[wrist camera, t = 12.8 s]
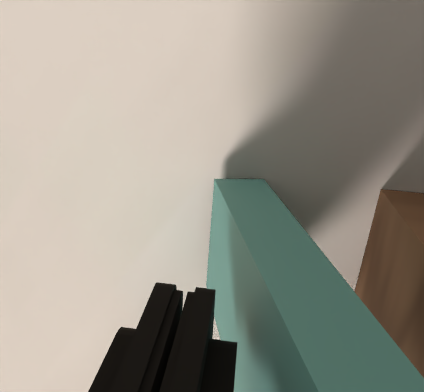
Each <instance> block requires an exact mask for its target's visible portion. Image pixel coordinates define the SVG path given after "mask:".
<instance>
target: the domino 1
mask: <svg viewBox="0 0 424 392" xmlns="http://www.w3.org/2000/svg"><path fill="white" fill-rule="evenodd" d="M206 286H207V289H215V290H216V293H215V308H214V316H215V320H216V324H217V328H218V331H219V335H220V339H221V340H223V341H231V342H237V356H236V369H235V381H234V392H424V378H423V376H422V375H421V374H420V373H419V372H418V370H417V369H416V368H415V367H414V365H413V364H412V363H411V362H410V360H409V359H408V358H407V357H406V355H405V354H404V353H403V352H402V350H401V349H400V348H399V347H398V345H397V344H396V343H395V342H394V340H393V339H392V338H391V337H390V335H389V334H388V333H387V332H386V330H385V329H384V328H383V327H382V325H381V324H380V323H379V322H378V321H377V319H376V318H375V317H374V316H373V314H372V313H371V312H370V311H369V309H368V308H367V307H366V306H365V304H364V303H363V302H362V301H361V299H360V298H359V297H358V296H357V294H356V293H355V292H354V291H353V289H352V288H351V287H350V286H349V284H348V283H347V282H346V281H345V279H344V278H343V277H342V276H341V274H340V273H339V272H338V271H337V270H336V268H335V267H334V266H333V265H332V263H331V262H330V261H329V260H328V258H327V257H326V256H325V255H324V253H323V252H322V251H321V250H320V248H319V247H318V246H317V245H316V243H315V242H314V241H313V240H312V238H311V237H310V236H309V235H308V233H307V232H306V231H305V230H304V228H303V227H302V226H301V225H300V224H299V222H298V221H297V220H296V219H295V217H294V216H293V215H292V214H291V212H290V211H289V210H288V209H287V207H286V206H285V205H284V204H283V202H282V201H281V200H280V199H279V197H278V196H277V195H276V194H275V192H274V191H273V190H272V189H271V187H270V186H269V185H268V184H267V182H266V181H265V180H264V179H214V191H213V205H212V218H211V231H210V244H209V257H208V270H207V283H206Z"/></svg>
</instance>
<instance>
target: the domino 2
mask: <svg viewBox="0 0 424 392" xmlns="http://www.w3.org/2000/svg"><path fill="white" fill-rule="evenodd" d="M355 293H356V294H357V296H358V297H359V298H360V299H361V301H362V302H363V303H364V304H365V306H366V307H367V308H368V309H369V311H370V312H371V313H372V314H373V316H374V317H375V318H376V319H377V321H378V322H379V323H380V324H381V325H382V327H383V328H384V329H385V330H386V332H387V333H388V334H389V335H390V337H391V338H392V339H393V340H394V342H395V343H396V344H397V345H398V347H399V348H400V349H401V350H402V352H403V353H404V354H405V355H406V357H407V358H408V359H409V360H410V362H411V363H412V364H413V365H414V367H415V368H416V369H417V370H418V372H419V373H420V374H421V375H422V376H423V378H424V193H414V192H404V191H394V190H384V189H381V191H380V195H379V199H378V203H377V206H376V210H375V214H374V218H373V222H372V226H371V230H370V234H369V238H368V241H367V245H366V249H365V253H364V257H363V261H362V265H361V269H360V273H359V276H358V280H357V284H356V288H355Z"/></svg>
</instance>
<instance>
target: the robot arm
mask: <svg viewBox="0 0 424 392" xmlns="http://www.w3.org/2000/svg"><path fill="white" fill-rule="evenodd" d="M215 293H216V290H215V289H207V288H198V287H196V290H195V292H188V293H187V297H186V300H185V304H184V307H183V311H182V306H183V291H179V290H176V285H173V284H165V283H156V284H155V286H154V288H153V291H152V293H151V295H150V298H149V300H148V302H147V305H146V307H145V309H144V312H143V314H142V317H141V319H140V321H139V324H138V326H137V328H136V329H132V328H124V327H121V328H120V329H119V330H118V332H117V333H116V335H115V338H114V340H113V342H112V344H111V346H110V348H109V350H108V352H107V354H106V356H105V358H104V360H103V362H102V364H101V367H100V369H99V371H98V373H97V375H96V377H95V379H94V381H93V383H92V385H91V387H90V389H89V391H88V392H234V381H235V369H236V356H237V342H231V341H223V340H216V339H212V335H213V321H214V308H215Z"/></svg>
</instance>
